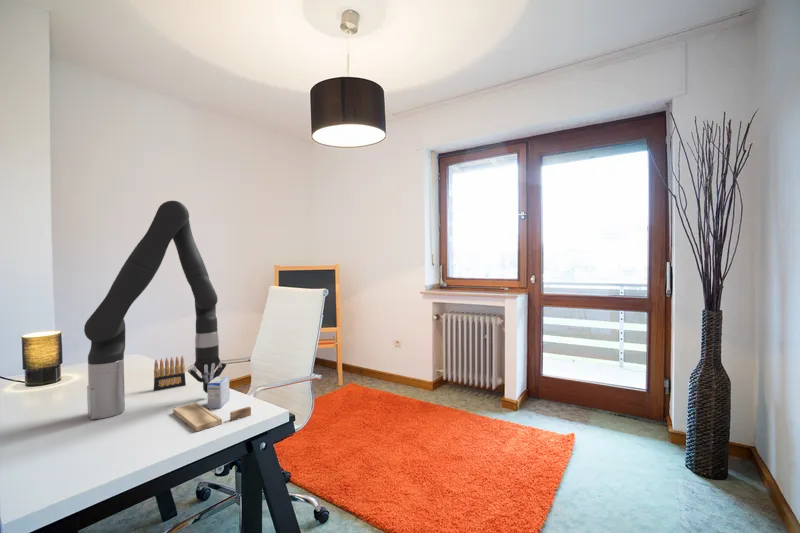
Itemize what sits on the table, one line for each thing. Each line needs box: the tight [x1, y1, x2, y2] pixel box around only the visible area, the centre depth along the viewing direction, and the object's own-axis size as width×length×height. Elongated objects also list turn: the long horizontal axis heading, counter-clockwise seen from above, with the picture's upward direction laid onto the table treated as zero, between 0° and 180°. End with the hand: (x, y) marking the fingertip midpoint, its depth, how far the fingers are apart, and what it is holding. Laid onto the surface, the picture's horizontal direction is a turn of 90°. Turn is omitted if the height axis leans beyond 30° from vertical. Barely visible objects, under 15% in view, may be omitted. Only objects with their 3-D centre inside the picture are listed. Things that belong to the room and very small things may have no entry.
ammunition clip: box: [153, 355, 187, 392], centre depth 148 cm, size 11×2×12 cm, turn 127°
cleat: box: [229, 406, 252, 421], centre depth 117 cm, size 6×1×2 cm, turn 137°
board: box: [172, 402, 223, 433], centre depth 117 cm, size 7×21×2 cm, turn 47°
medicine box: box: [206, 375, 230, 409], centre depth 129 cm, size 8×4×9 cm, turn 5°
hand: (208, 392), depth 135 cm, fingers closed
